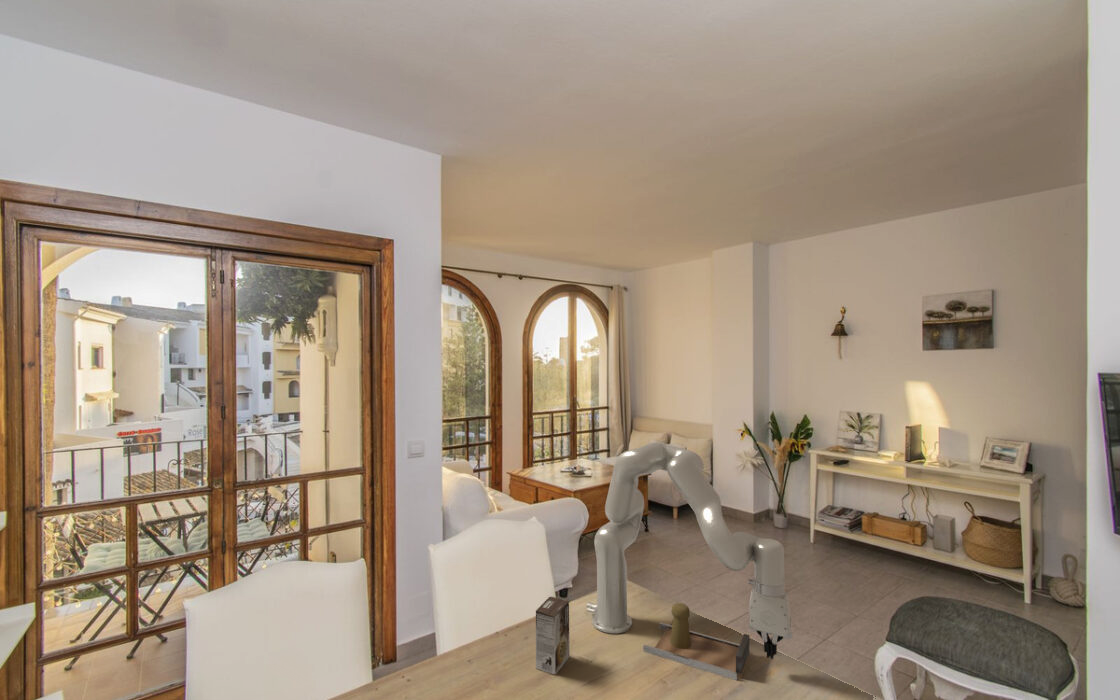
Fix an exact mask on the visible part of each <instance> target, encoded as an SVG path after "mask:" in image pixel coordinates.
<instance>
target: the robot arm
mask: <svg viewBox="0 0 1120 700" xmlns="http://www.w3.org/2000/svg"><path fill="white" fill-rule="evenodd" d="M704 465H705V464H704V460H703V459H702V457H701V456H700V455H699V453H698V454H697V453H696V452H694V451H692V450H690V449H689V450H688V449H686V448H681V447H677V446H674V445H670V444H665V443H662V442H649V443H647V444H645V445H642V446H639V447H637V448H632V449H629V450H625V451H623V452H622V453H620V454H619V455H618V456H617V458H616V460H615V461H614V466H613V469H612V475H611V479H610V484H609V488H608V491H607V496H606V501H605V505H604V513H605V516H606V518H607V520H609V522H607V523H605V524H604V525H602V526H601V527H599V529H598V530H597V531H596V533H595V536H594V541H593V542H594V550H595V556H596V598H597V599H596V603H593V602H589V601H588V602H587V603H586V613H590V614H593V616H592V625H593V627H594V628H596V630H599V631H600V632H603V633H607V634H621V633H625V632H627V631H628V630H631V628H632V625H633V619H632V617H631V616H630V615H629V614H628V566H627V561H626V558H625V550H626V549H627V548H628V547H630V546H631V545H632V544H633V543H635V541H636V539H637V538H638V535H639V532H640V527H641V523H642V519H643V514H644V509H645V499H644V496H643V494H642V492H641V491H640V490H639V489H638V488H639V487H638V486H639V477H641V476H645V475H650V474H653V473H654V472H657V471H659V470H661V471H664V472H666V473H667V474H668V477H669V478H670V480H671V482H672V483H673V484H674V485H675V487H676V488H677V490H678V491H679V492H680V494H681V495H682V496H683V498H684V499H685V501H686V502H687V504H688V506H690V508H691V509H692V510H693V512H694V514H695V517H696V520H697V521H696V522H697V523H698V525H699V528H700V531H701V533H702V536H703V538H704V540H705V541H706V543H707V545H708V547H709V548H710V549H711V551H712V553H713V554H714V555H715V557H716V558H717V559H718V561H720V563H721V564H722V565H723V566H724V567H726V569H728V570H730V571H733V572H740V571H742V570H744V569H746V568H747V566H748V565H749V563H750V562H753V571H754V572H753V578H749V579H748V584H749V585H751V586H753V587H752V589H751V590H750V596H749V609H748V623H749V624H748V629H749V630H751V631H752V632H755V633H757V634H758V635H759V636H760V638H761V639H762V641H763V652H764V653H766V658H767V659H771V660H774V657H775V656H776V655H777V652H778V645H777V643H779V642H780V641H782V640H792V638H793V634H792V630H791V627H792V620H791V619H792V618H791V609H790V602H789V601H790V600H789V598H788V594H787V593H786V592H785V589H786V588H785V549H784V545H783V544H782V543H781V542H780V541H778V540H776V539H773V538H768V537H767V538H765V537H759V536H756V535H753V534H750V533H747V532H744V531H737V532H733V533H732V532H731V531H730V529H729V528H728V526H727V523H726V521H725V519H724V516H723V512H722V503H721V502H722V501H721V498H720V495H719V494H718V492H717V491H716V490H715V488H714V487H713V486H712V484H711V483H710V482H709V480H708V479H707V478H706V476H705V475H704V474H703V472H704V468H705V466H704ZM770 635H772V637H770Z"/></svg>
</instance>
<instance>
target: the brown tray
mask: <svg viewBox="0 0 1120 700" xmlns="http://www.w3.org/2000/svg"><path fill="white" fill-rule="evenodd" d="M671 631H672V629H671V628H667V630H664V633H663V635H661V637H660V638H659V641H657V644H656V645H655V646H654V647H655V648H658V649H661V650H665V651H668V652H671V653H674V654H678V655H681V656H684V657H688V658H691V659H694V660H697V661H701V662H704V663H707V664H711V665H714V666H717V667H721V668H724V669H727V670H730V671H734V672H737V678H738V679H739V678H740V679H743V675H744V672H745V669H746V667H747V664H748V660H749V658H750V634H747V633H743V634H742V638H741V641H740V643H739V644H740V646H739V648H738V647H735V646H731V645H728V644H724V643H721V642H717V641H713V640H710V639H706V638H703V637H699V636H696V635H692V634H690V638H691V646H690V647H689V648H687V649H679V648H676V647H674V646H672V645H671V643H670V639H671Z"/></svg>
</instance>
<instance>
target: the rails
mask: <svg viewBox="0 0 1120 700" xmlns="http://www.w3.org/2000/svg"><path fill="white" fill-rule="evenodd" d="M667 628H671V629H672V625H671V624H667V623H664V622H659V623H658V629H659V630H662V631H666V630H667ZM689 631H690V634H692V635H696V636H699V637H703V638H706V639H710V640H713V641H717V642H721V643H724V644H728V645H731V646H735V647H738V648H739V646H740V643H736V642H732V641H729V640H725V639H722V638H719V637H715V636H710V635H708V634H704V633H701V632H697V631H693V630H690V629H689ZM642 648H643V649H642V650H643V652H644V653H647V654H651V655H654V656H657V657H660V658H664V659H667V660H670V661H673V662H676V663H680V664H683V665H687V666H690V667H693V668H696V669H700V670H702V671H706V672H708V673H712V674H715V675H718V676H722V677H725V678H728V679H731V680H734V681H738V677H737V672H734V671H730V670H727V669H724V668H721V667H717V666H714V665H711V664H707V663H704V662H701V661H697V660H694V659H691V658H688V657H684V656H681V655H678V654H674V653H671V652H668V651H665V650H661V649H658V648H655V646H652V645H647V644H643V647H642Z"/></svg>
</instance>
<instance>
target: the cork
mask: <svg viewBox="0 0 1120 700" xmlns="http://www.w3.org/2000/svg"><path fill="white" fill-rule="evenodd" d="M690 612H691V611H690V608H689V606H688V605H687V604H684V603H682V602H678V603H677V602H676V603H674V604H673V605H672V606H671V615H672V616H673V618H672V623H671V624H672V631H671V639H670V643H671V645H672V646H674V647H676V648H679V649H687V648H689V647H690V646H691V638H690V631H691V630H690V625H689V624H690V623H689V617H690ZM689 630H690V631H689Z"/></svg>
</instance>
